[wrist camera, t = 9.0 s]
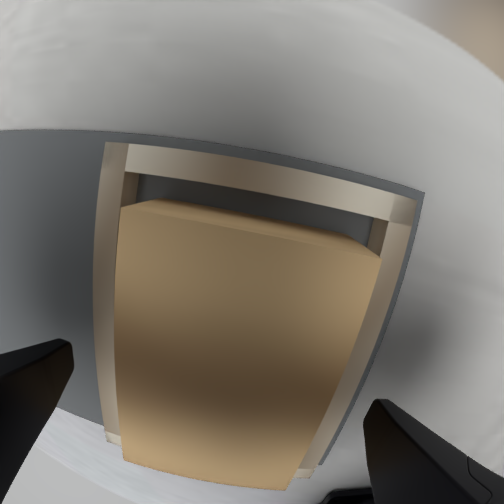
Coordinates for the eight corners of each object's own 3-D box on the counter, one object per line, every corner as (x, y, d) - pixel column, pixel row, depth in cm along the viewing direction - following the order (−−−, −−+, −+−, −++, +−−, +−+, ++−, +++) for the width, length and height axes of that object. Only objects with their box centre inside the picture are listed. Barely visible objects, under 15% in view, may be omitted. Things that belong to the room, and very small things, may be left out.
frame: (400, 197, 9) (417, 200, 8) (307, 460, 12) (309, 478, 11) (122, 144, 9) (105, 141, 8) (115, 425, 12) (107, 441, 11)
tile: (281, 437, 12) (285, 490, 9) (145, 411, 12) (123, 460, 9) (347, 234, 10) (382, 259, 7) (160, 197, 9) (120, 207, 6)
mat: (418, 191, 10) (424, 192, 9) (320, 457, 13) (321, 465, 12) (-48, 135, 9) (-54, 135, 9) (-34, 350, 12) (-38, 353, 12)
